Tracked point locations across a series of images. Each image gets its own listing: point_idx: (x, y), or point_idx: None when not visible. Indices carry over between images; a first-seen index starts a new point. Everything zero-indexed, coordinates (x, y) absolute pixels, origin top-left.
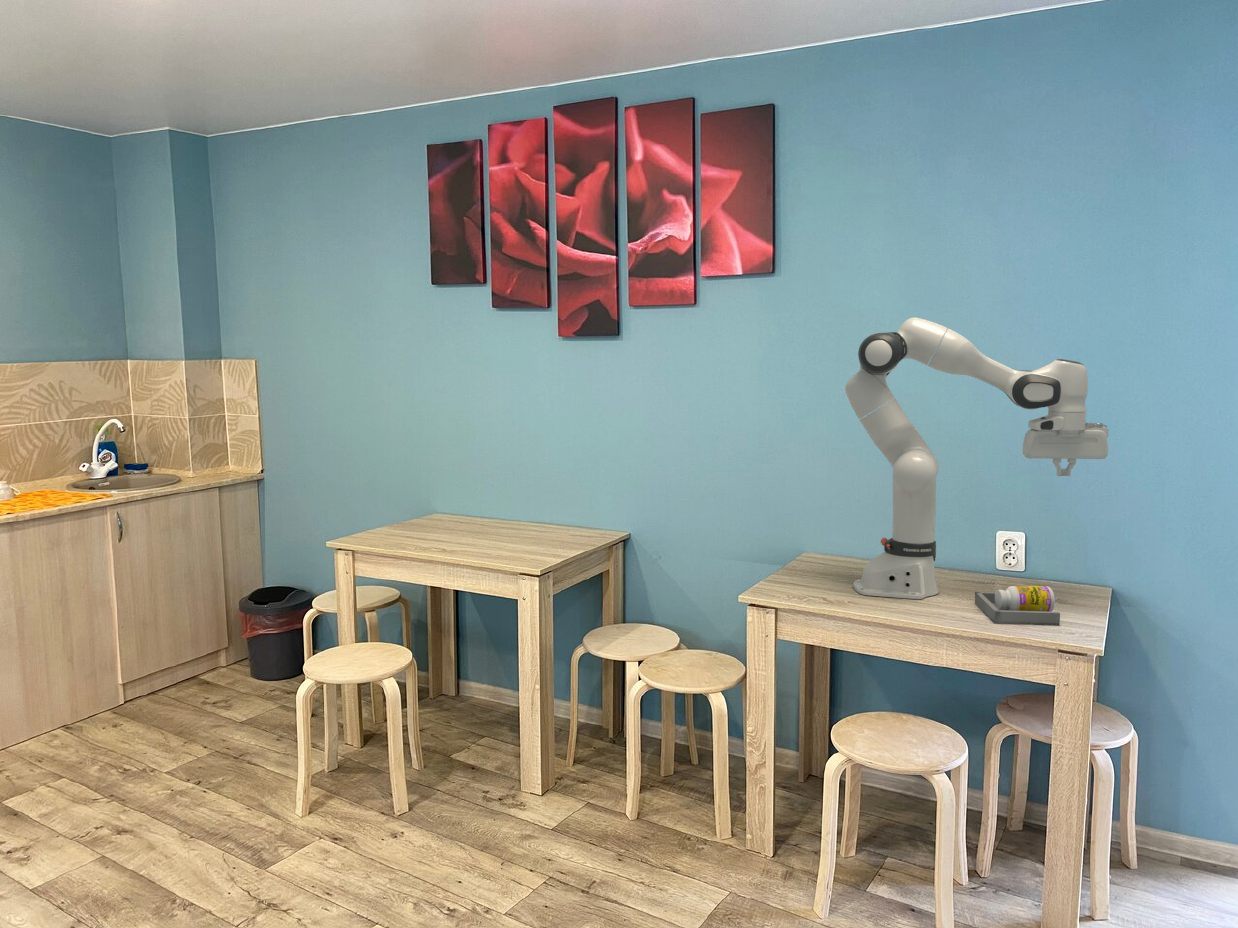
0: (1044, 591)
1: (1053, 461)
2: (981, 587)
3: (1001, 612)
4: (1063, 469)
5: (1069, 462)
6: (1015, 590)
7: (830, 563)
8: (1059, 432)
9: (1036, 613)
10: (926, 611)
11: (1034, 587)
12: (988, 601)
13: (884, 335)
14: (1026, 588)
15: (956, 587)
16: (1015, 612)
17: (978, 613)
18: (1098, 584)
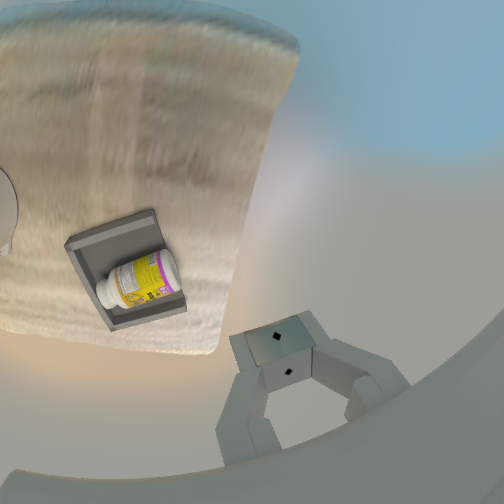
0: (166, 294)
1: (222, 443)
2: (69, 125)
3: (117, 329)
4: (279, 387)
5: (348, 401)
6: (125, 307)
7: None
8: None
9: (158, 318)
10: (34, 301)
11: (150, 293)
12: (92, 292)
13: None
14: (139, 300)
15: (33, 148)
16: (133, 325)
17: None
18: (286, 35)
